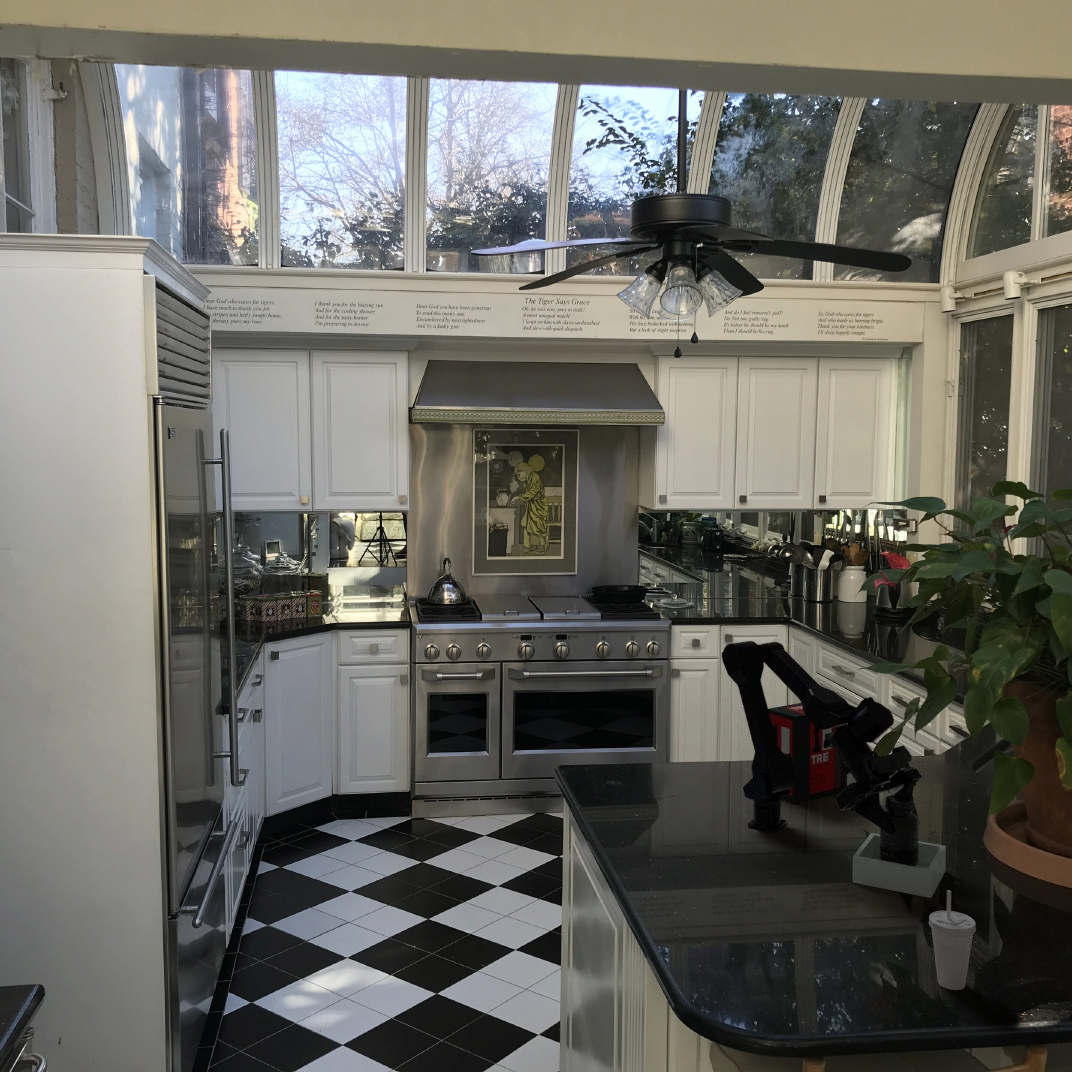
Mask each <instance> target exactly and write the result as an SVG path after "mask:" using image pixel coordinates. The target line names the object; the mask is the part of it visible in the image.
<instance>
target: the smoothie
mask: <svg viewBox="0 0 1072 1072" xmlns="http://www.w3.org/2000/svg"><path fill="white" fill-rule="evenodd" d="M928 918H929V921H928V925H929V926H930V927H931V935H932V944H933V950H934V951H933V952H934V959H935V961H934V962H935V967H936V979H937V983H938V985H939V986H941V987H942V988H944V989H947V990H952V991H960V990H963V989H965V987H966V983H967V975H968V969H969V963H970V962H969V961H970V956H971V949H972V944H973V943H972V942H973V938H974V937H973V936H974V933H976V931H977V927H976V920H974V919H973V918H972V917H970V916H969V915H967V914H964V913H961V912H959V911H953V910H952V891H951V890H949V889H948V890H947V889H946V910H937V911H934V912H931V913H930V914H929V917H928Z"/></svg>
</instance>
